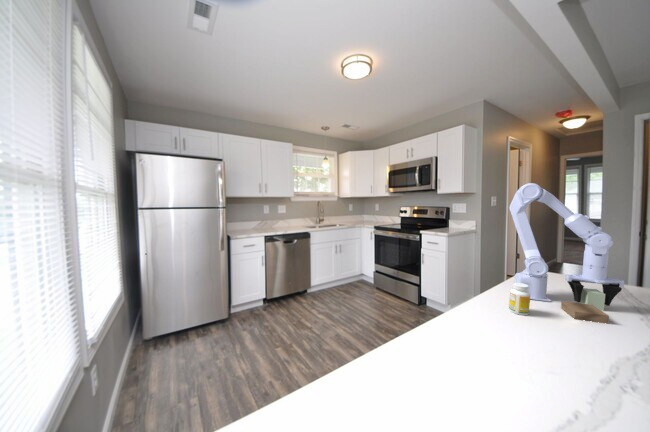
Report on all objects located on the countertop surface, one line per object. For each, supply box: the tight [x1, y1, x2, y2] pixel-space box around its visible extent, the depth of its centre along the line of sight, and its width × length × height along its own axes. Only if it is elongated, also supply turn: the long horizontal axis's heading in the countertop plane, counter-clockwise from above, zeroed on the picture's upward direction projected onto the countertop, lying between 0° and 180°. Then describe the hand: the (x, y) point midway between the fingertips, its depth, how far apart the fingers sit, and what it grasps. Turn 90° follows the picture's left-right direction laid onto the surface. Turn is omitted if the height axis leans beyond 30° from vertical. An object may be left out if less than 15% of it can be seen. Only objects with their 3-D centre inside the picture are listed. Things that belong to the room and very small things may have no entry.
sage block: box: [580, 287, 605, 312], centre depth 86 cm, size 4×4×6 cm
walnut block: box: [560, 300, 610, 325], centre depth 80 cm, size 8×8×3 cm
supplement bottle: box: [508, 282, 531, 316], centre depth 83 cm, size 5×5×10 cm
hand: (591, 303), depth 86 cm, fingers open, 7 cm apart
